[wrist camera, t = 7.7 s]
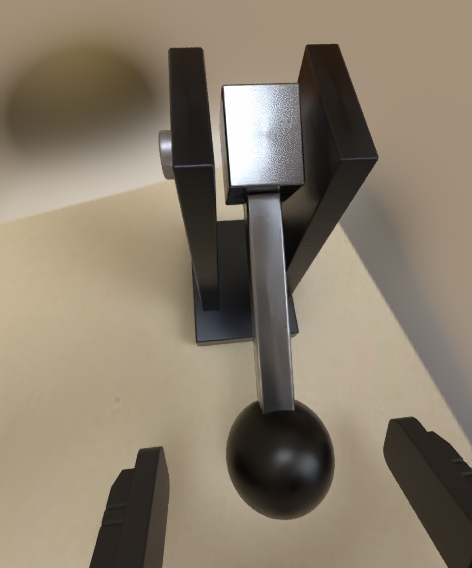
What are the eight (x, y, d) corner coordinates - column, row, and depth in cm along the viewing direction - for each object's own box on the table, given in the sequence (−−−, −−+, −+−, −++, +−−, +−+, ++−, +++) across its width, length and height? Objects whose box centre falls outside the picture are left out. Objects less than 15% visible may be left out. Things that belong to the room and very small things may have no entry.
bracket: (294, 337, 18) (424, 219, 7) (197, 346, 18) (149, 238, 6) (275, 226, 21) (341, 7, 10) (191, 232, 21) (149, 8, 9)
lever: (315, 461, 12) (358, 543, 9) (227, 473, 12) (234, 562, 8) (294, 129, 11) (333, 66, 8) (199, 133, 11) (194, 69, 7)
